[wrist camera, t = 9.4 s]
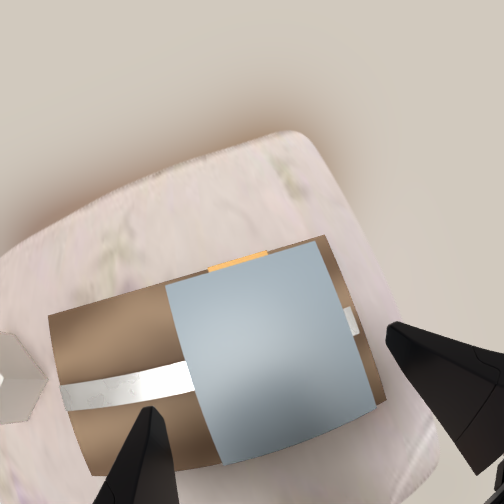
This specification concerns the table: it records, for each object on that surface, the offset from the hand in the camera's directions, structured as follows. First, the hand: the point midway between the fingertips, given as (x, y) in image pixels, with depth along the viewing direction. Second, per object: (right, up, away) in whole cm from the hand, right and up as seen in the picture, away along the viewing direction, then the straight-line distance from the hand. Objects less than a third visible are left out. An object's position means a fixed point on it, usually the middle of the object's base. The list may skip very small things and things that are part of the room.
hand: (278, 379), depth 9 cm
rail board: (-4, -4, +10) cm, 12 cm away
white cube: (-23, -8, +8) cm, 25 cm away
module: (-1, -3, +9) cm, 10 cm away
